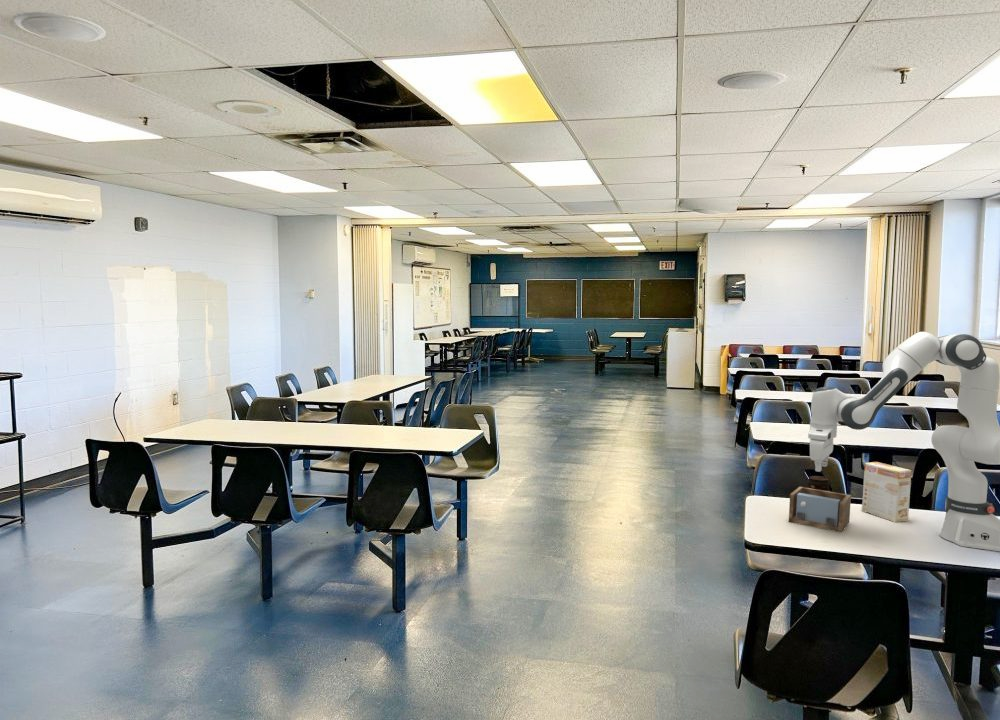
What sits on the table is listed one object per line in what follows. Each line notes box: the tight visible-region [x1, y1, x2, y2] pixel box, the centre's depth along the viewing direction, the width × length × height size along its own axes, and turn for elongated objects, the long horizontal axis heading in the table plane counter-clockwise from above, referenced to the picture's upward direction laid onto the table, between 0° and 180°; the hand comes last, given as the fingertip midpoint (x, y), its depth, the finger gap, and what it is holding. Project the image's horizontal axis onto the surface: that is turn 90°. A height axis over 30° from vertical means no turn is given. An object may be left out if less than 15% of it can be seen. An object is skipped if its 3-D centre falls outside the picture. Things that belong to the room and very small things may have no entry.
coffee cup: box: [806, 475, 832, 492], centre depth 268 cm, size 9×8×13 cm
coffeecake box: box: [861, 461, 912, 523], centre depth 262 cm, size 15×7×20 cm, turn 22°
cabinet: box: [788, 486, 852, 533], centre depth 253 cm, size 18×14×10 cm
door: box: [796, 493, 840, 526], centre depth 250 cm, size 14×4×9 cm, turn 53°
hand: (821, 468), depth 249 cm, fingers open, 8 cm apart
